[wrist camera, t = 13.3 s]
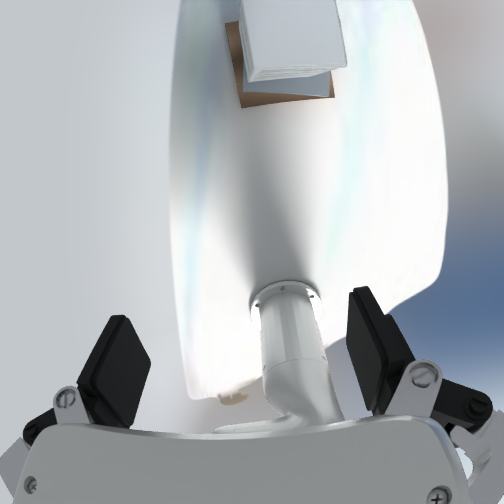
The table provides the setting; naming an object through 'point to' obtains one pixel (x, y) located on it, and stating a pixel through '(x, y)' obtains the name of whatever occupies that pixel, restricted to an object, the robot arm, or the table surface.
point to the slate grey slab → (291, 85)
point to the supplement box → (290, 38)
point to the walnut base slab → (237, 58)
